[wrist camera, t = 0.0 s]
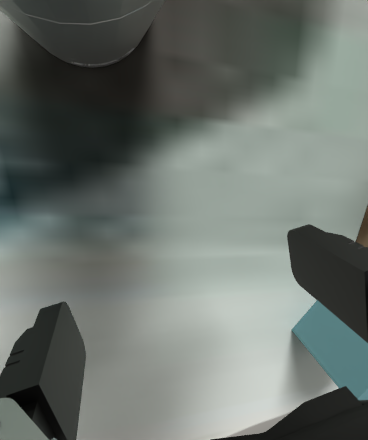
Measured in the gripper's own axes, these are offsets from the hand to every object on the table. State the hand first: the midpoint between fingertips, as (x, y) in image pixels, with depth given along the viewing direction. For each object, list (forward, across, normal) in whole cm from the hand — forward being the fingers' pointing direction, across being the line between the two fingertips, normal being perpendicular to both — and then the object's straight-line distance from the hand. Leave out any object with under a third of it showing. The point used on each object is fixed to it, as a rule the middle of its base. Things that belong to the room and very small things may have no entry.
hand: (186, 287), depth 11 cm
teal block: (+19, -16, +21) cm, 33 cm away
